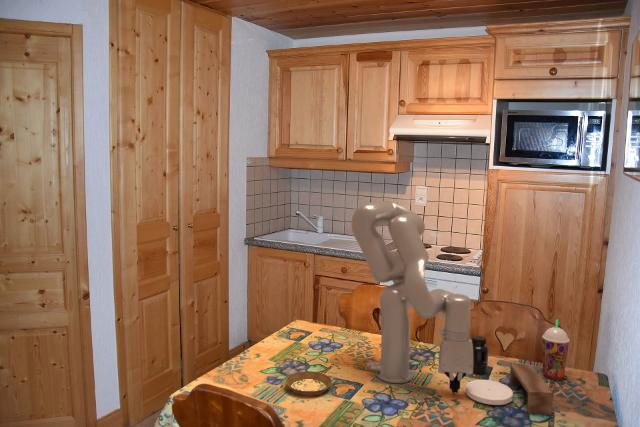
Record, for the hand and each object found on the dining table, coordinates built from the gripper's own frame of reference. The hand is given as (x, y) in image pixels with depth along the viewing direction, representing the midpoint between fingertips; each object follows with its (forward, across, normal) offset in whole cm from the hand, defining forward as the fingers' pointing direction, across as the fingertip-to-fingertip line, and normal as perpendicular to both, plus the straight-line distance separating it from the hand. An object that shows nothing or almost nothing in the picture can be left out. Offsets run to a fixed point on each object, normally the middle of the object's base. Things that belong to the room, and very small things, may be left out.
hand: (454, 391), depth 164 cm
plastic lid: (+2, +11, 0) cm, 11 cm away
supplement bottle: (+1, +11, +19) cm, 22 cm away
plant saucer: (+1, -46, 0) cm, 46 cm away
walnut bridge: (+1, +22, 0) cm, 22 cm away
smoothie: (+2, +36, +17) cm, 40 cm away
